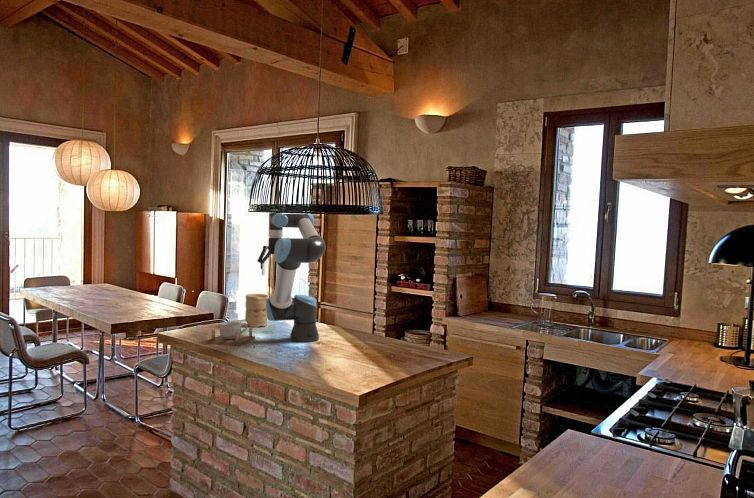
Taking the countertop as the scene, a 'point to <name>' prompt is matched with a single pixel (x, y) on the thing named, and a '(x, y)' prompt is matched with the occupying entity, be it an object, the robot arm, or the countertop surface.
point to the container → (256, 310)
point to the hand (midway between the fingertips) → (274, 275)
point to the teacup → (231, 329)
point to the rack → (235, 342)
